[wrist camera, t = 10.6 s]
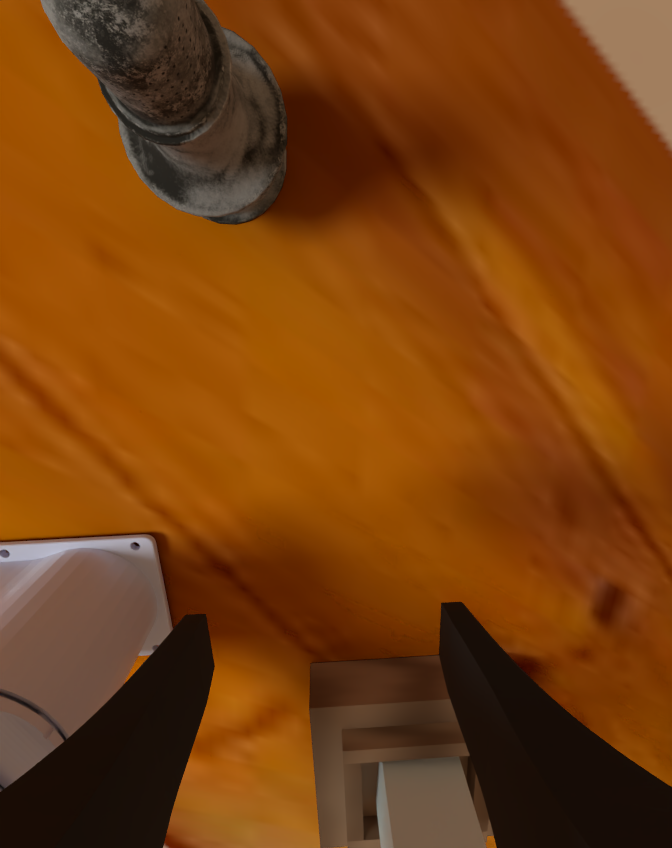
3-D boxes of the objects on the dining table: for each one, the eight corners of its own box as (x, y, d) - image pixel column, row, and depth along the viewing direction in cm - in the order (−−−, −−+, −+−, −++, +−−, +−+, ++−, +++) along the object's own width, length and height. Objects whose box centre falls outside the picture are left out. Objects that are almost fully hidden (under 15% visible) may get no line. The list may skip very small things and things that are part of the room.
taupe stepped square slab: (320, 794, 30) (320, 873, 26) (310, 663, 26) (308, 730, 22) (486, 783, 30) (512, 858, 26) (498, 651, 26) (530, 714, 22)
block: (375, 799, 26) (391, 944, 20) (380, 746, 24) (398, 885, 18) (447, 798, 26) (483, 941, 20) (455, 745, 24) (497, 882, 19)
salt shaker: (302, 92, 17) (266, -315, 6) (284, 243, 19) (227, 156, 7) (159, 61, 17) (-190, -453, 5) (153, 218, 18) (-124, 85, 7)
